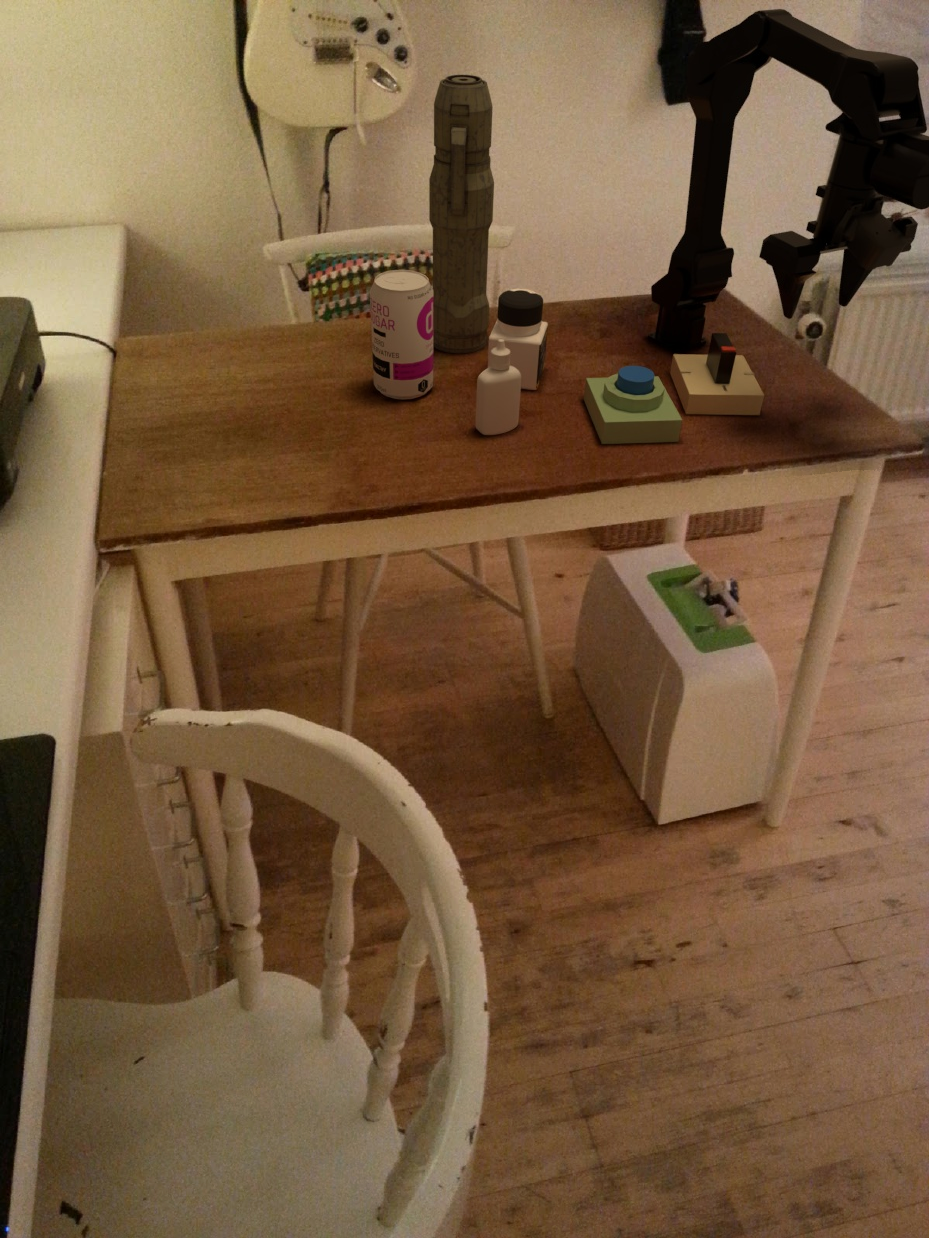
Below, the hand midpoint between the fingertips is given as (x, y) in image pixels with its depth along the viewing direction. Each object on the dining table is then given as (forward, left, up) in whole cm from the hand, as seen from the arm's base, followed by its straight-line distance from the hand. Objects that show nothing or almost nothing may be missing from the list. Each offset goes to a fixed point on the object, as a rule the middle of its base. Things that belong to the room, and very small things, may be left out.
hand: (815, 311), depth 120 cm
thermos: (-42, -26, -14) cm, 51 cm away
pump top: (-10, -21, -9) cm, 24 cm away
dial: (-9, -6, -11) cm, 15 cm away
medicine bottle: (-28, -26, -14) cm, 40 cm away
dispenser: (-10, -21, -14) cm, 27 cm away
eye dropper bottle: (-18, -37, -14) cm, 43 cm away
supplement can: (-34, -41, -14) cm, 55 cm away
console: (-9, -6, -14) cm, 17 cm away
